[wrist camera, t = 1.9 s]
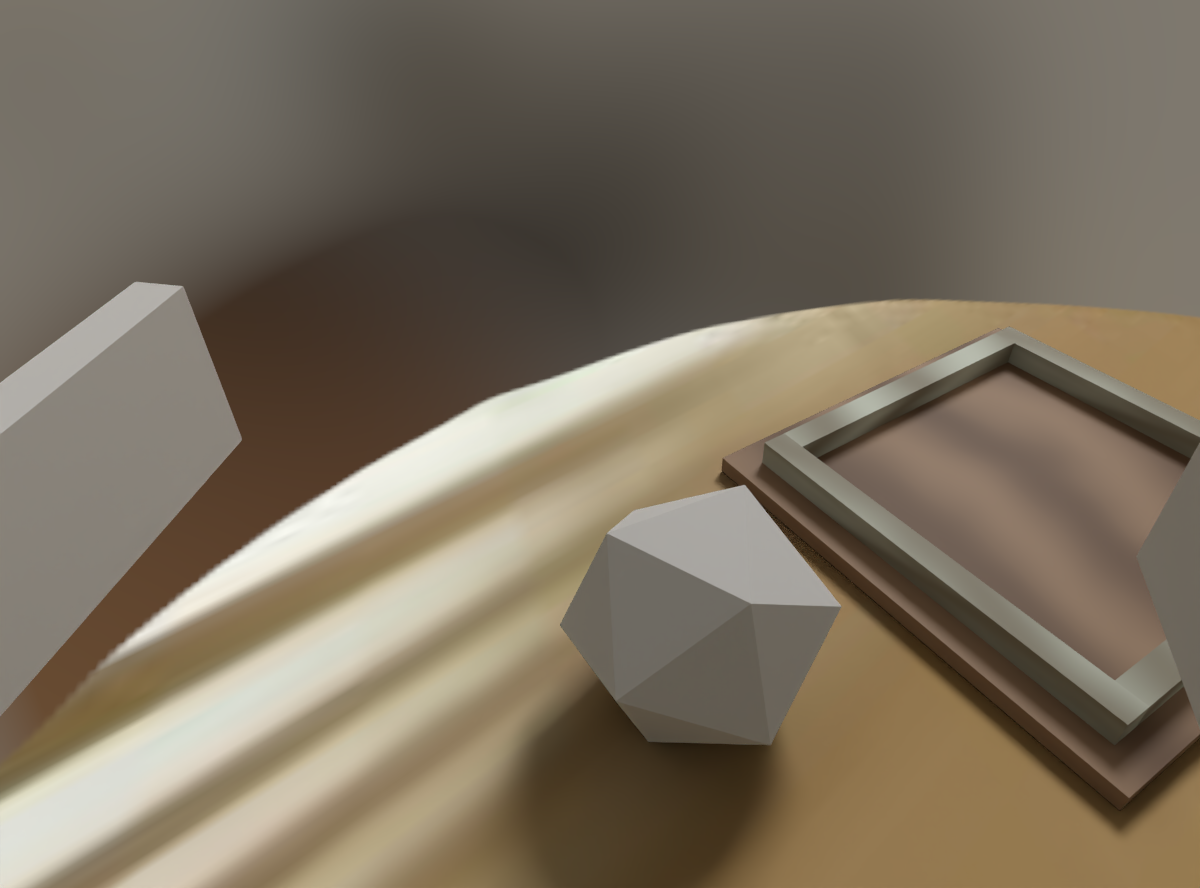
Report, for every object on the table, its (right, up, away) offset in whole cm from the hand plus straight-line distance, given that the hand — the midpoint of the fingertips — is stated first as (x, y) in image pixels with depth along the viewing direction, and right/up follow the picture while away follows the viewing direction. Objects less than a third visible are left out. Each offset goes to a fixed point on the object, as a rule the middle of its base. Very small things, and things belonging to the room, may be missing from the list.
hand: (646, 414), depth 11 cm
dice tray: (+19, -3, +26) cm, 32 cm away
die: (+3, -9, +20) cm, 22 cm away
